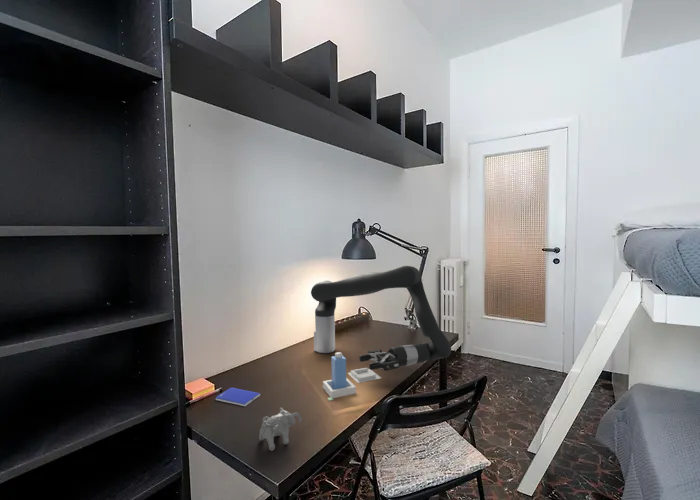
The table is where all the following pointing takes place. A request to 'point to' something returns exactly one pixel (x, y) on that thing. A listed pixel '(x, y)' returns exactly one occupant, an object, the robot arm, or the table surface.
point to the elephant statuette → (277, 427)
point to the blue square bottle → (338, 371)
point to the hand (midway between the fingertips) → (364, 362)
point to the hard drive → (237, 396)
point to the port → (340, 392)
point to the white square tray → (363, 375)
